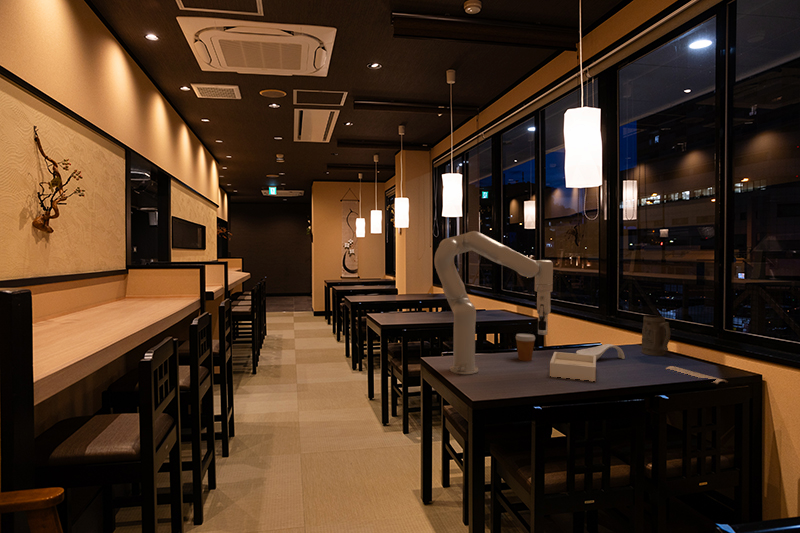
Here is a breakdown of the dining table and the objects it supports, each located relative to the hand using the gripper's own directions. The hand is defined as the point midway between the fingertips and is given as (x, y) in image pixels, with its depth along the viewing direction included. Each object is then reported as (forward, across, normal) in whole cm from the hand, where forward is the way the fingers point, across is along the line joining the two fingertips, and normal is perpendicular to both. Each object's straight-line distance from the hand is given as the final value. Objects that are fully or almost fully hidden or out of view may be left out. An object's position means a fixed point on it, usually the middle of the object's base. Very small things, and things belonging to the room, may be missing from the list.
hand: (542, 328), depth 204 cm
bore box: (+19, +4, -13) cm, 23 cm away
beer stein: (+19, +57, -51) cm, 79 cm away
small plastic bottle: (+2, 0, 0) cm, 2 cm away
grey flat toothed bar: (+20, +21, -62) cm, 69 cm away
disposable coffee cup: (+19, +19, +10) cm, 29 cm away
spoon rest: (+20, +36, -24) cm, 47 cm away
